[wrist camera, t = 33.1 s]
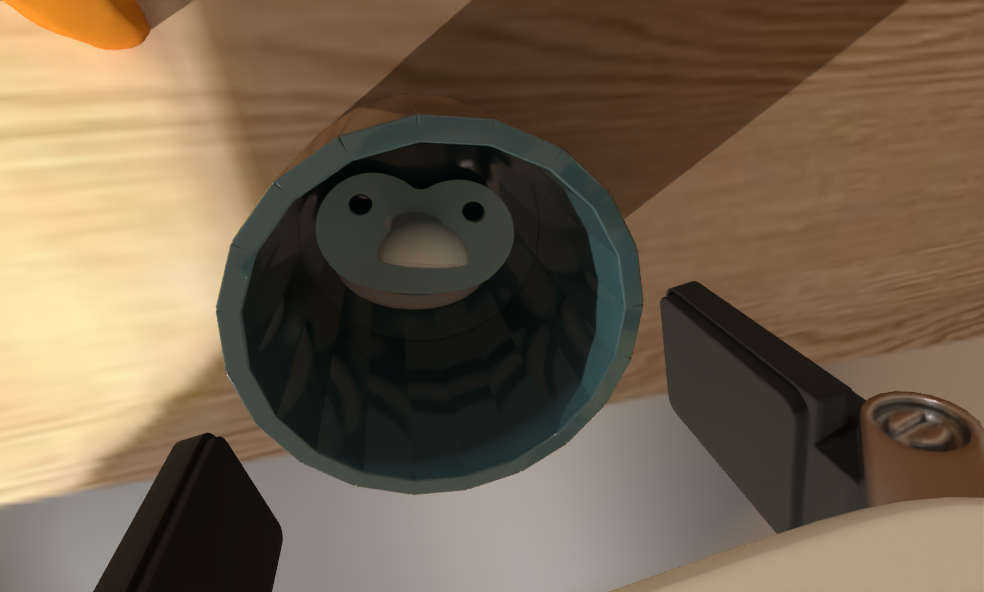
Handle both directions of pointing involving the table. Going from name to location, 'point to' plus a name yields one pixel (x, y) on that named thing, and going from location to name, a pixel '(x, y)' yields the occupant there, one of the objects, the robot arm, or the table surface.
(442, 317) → the cup
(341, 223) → the pacifier
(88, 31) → the rattle
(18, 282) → the table surface
